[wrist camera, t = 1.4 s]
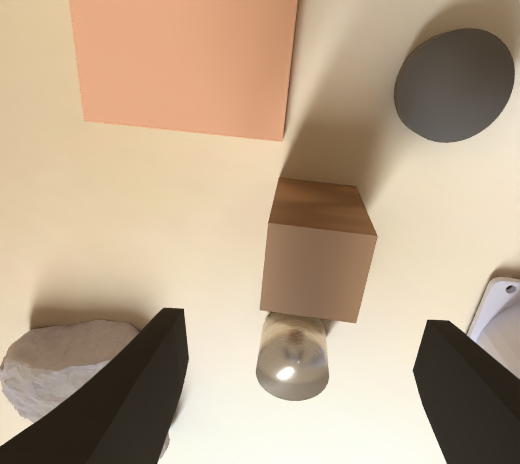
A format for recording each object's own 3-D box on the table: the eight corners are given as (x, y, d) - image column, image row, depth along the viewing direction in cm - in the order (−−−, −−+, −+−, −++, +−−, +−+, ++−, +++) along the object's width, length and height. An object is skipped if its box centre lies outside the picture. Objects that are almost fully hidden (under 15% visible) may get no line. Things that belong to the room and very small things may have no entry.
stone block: (152, 297, 25) (13, 324, 25) (137, 345, 21) (-31, 378, 21) (193, 409, 30) (77, 432, 30) (188, 467, 26) (53, 494, 26)
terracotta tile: (311, -129, 13) (311, -137, 13) (283, 139, 18) (282, 141, 17) (60, -142, 14) (50, -150, 14) (90, 119, 18) (84, 120, 18)
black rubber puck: (512, 36, 15) (532, 32, 14) (477, 141, 17) (492, 147, 16) (406, 28, 15) (415, 24, 14) (383, 132, 17) (390, 137, 16)
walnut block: (356, 186, 18) (377, 236, 13) (342, 254, 20) (356, 323, 15) (278, 177, 19) (268, 223, 13) (271, 245, 20) (259, 310, 15)
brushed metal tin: (330, 311, 22) (334, 352, 19) (320, 360, 23) (322, 405, 20) (265, 302, 22) (259, 341, 19) (260, 351, 24) (253, 394, 21)
